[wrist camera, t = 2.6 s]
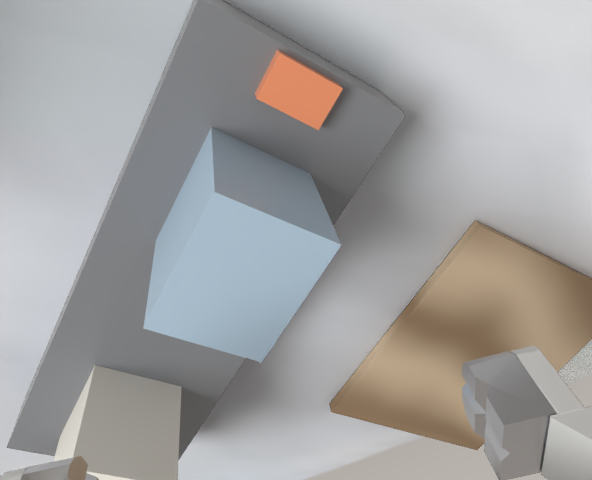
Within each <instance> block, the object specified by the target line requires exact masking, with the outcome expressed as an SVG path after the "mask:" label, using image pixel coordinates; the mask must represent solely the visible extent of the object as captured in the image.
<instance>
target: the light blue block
mask: <svg viewBox="0 0 592 480" xmlns="http://www.w3.org/2000/svg"><path fill="white" fill-rule="evenodd" d="M340 247H341V242H340V240H339V238H338V236H337V233H336V231H335V229H334V227H333V224H332V222H331V220H330V217H329V215H328V213H327V211H326V208H325V206H324V204H323V202H322V199H321V197H320V195H319V192H318V190H317V188H316V186H315V183H314V181H313V179H312V176H311V174H310V173H308V172H306V171H304V170H302V169H300V168H297V167H295V166H293V165H291V164H289V163H287V162H285V161H283V160H280V159H278V158H276V157H274V156H272V155H270V154H268V153H265V152H263V151H261V150H259V149H257V148H255V147H253V146H251V145H248V144H246V143H244V142H242V141H240V140H238V139H236V138H234V137H231V136H229V135H227V134H225V133H223V132H221V131H219V130H216V129H214V128H212V127H211V129H210V131H209V133H208V135H207V137H206V139H205V141H204V143H203V145H202V147H201V149H200V151H199V153H198V155H197V157H196V159H195V161H194V163H193V166H192V168H191V170H190V172H189V174H188V176H187V178H186V180H185V182H184V184H183V186H182V188H181V190H180V192H179V194H178V196H177V198H176V200H175V202H174V204H173V206H172V208H171V211H170V213H169V215H168V217H167V219H166V221H165V223H164V225H163V227H162V229H161V231H160V233H159V235H158V237H157V239H156V243H155V250H154V257H153V264H152V271H151V278H150V285H149V292H148V299H147V306H146V313H145V320H144V327H143V329H147V330H150V331H154V332H157V333H161V334H164V335H168V336H171V337H175V338H178V339H182V340H185V341H188V342H192V343H195V344H199V345H202V346H206V347H209V348H213V349H216V350H220V351H223V352H227V353H230V354H234V355H237V356H241V357H244V358H247V359H251V360H254V361H258V362H261V363H262V361H263V360H264V358H265V357H266V355H267V354H268V353H269V351H270V350H271V348H272V347H273V345H274V344H275V342H276V341H277V339H278V338H279V336H280V335H281V333H282V332H283V330H284V329H285V328H286V326H287V325H288V323H289V322H290V320H291V319H292V317H293V316H294V314H295V313H296V311H297V310H298V308H299V307H300V305H301V304H302V303H303V301H304V300H305V298H306V297H307V295H308V294H309V292H310V291H311V289H312V288H313V286H314V285H315V283H316V282H317V280H318V279H319V278H320V276H321V275H322V273H323V272H324V270H325V269H326V267H327V266H328V264H329V263H330V261H331V260H332V258H333V257H334V255H335V254H336V252H337V251H338V250H339V248H340Z"/></svg>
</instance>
